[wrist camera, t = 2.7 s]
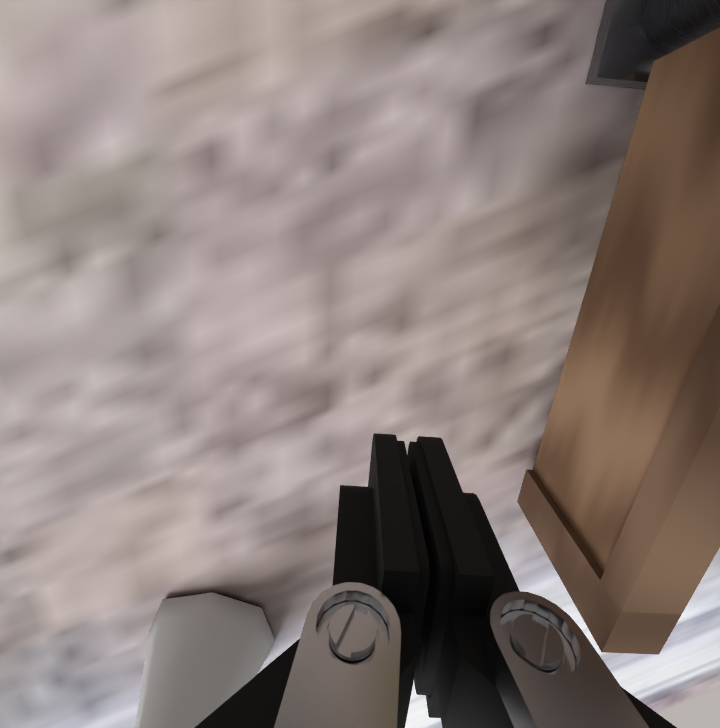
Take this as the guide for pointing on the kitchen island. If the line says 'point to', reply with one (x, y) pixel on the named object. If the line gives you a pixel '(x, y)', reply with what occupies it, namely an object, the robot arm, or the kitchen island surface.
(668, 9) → the grey upright posts
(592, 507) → the brown wooden plank
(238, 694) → the robot arm
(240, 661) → the flask
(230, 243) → the kitchen island surface
